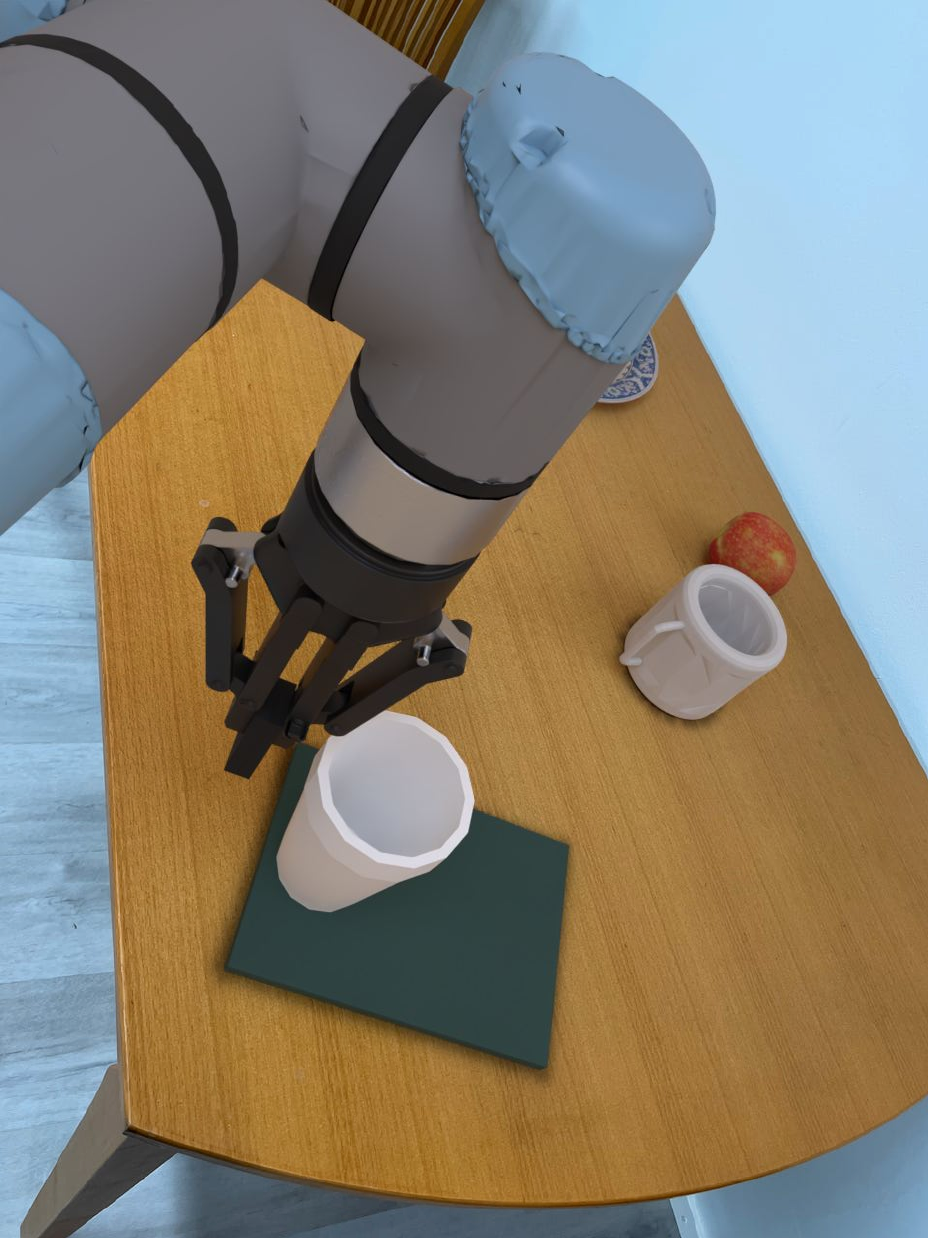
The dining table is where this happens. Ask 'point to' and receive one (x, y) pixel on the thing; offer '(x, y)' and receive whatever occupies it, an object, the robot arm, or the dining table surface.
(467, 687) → the dining table surface
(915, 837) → the dining table surface
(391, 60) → the robot arm
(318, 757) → the foam cup
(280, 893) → the mat
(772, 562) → the apple
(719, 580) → the mug
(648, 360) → the ceramic plate
